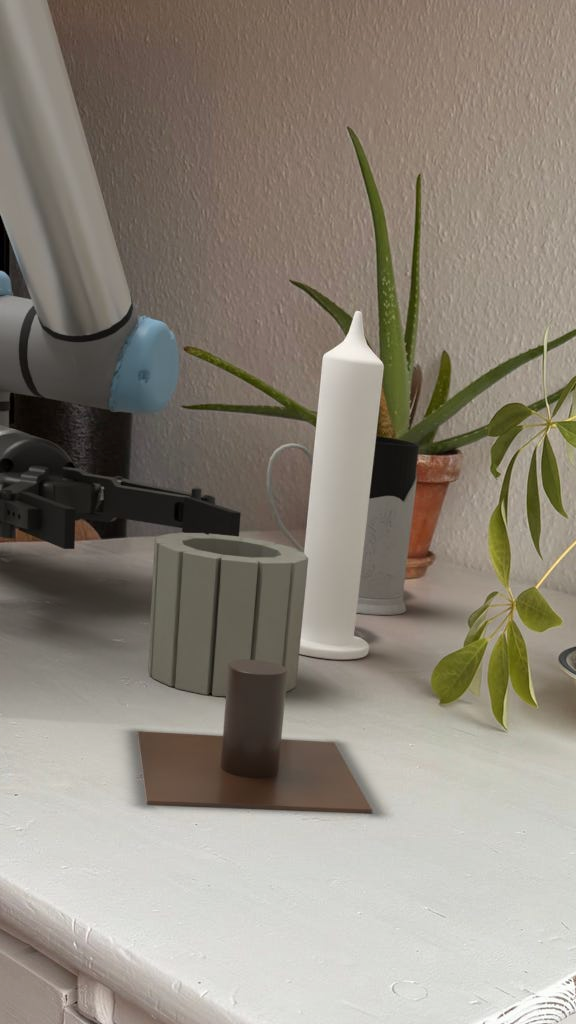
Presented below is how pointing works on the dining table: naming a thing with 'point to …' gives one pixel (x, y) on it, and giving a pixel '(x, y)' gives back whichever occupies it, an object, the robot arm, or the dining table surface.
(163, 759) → the peg stand
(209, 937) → the dining table surface
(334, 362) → the candle
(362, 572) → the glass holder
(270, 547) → the slatted planter pot
